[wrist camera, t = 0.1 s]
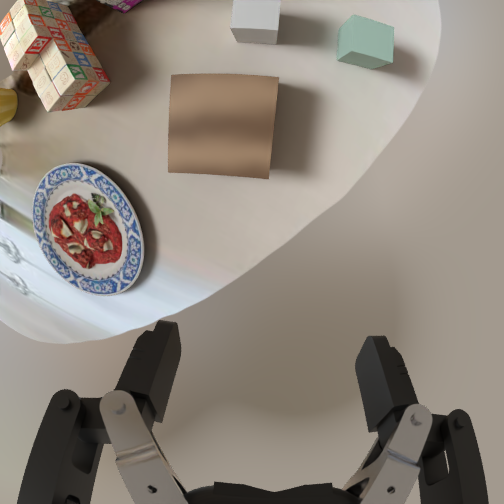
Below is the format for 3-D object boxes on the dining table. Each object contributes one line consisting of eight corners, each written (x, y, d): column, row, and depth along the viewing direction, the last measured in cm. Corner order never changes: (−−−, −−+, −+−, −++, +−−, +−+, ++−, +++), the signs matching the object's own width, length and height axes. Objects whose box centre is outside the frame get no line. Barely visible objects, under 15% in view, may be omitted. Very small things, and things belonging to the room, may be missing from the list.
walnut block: (186, 79, 30) (171, 74, 25) (277, 82, 30) (278, 77, 25) (182, 162, 36) (168, 172, 31) (268, 168, 36) (268, 179, 31)
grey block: (240, 11, 25) (234, -8, 19) (278, 13, 25) (281, -6, 19) (237, 42, 27) (230, 27, 21) (276, 44, 27) (278, 30, 21)
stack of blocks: (112, 82, 30) (59, 80, 19) (85, 108, 32) (31, 117, 21) (67, 5, 21) (21, -6, 10) (44, 30, 23) (-4, 26, 12)
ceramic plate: (88, 303, 51) (81, 311, 48) (23, 205, 40) (13, 211, 37) (177, 263, 44) (172, 273, 42) (97, 129, 34) (86, 131, 31)
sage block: (338, 29, 25) (353, 14, 19) (373, 38, 25) (394, 27, 19) (336, 60, 28) (351, 50, 22) (371, 69, 28) (392, 62, 22)
